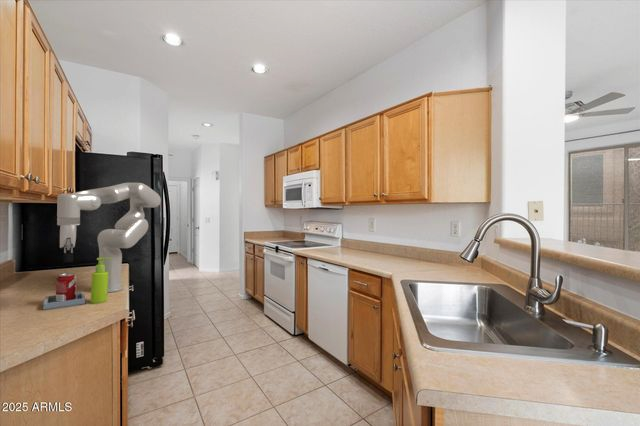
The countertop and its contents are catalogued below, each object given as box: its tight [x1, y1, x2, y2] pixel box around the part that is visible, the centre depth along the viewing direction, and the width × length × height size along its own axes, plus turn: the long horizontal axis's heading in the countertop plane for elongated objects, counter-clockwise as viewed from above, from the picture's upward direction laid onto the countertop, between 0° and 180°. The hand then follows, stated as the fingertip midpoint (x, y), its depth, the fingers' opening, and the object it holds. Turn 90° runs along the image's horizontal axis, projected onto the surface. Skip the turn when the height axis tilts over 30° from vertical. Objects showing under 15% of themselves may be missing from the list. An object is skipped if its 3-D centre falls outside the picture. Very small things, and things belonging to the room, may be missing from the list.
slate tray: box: [42, 291, 86, 311], centre depth 124 cm, size 13×13×2 cm
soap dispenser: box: [90, 257, 112, 305], centre depth 128 cm, size 6×7×20 cm
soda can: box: [55, 272, 78, 302], centre depth 125 cm, size 7×7×12 cm
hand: (68, 260), depth 125 cm, fingers open, 9 cm apart
